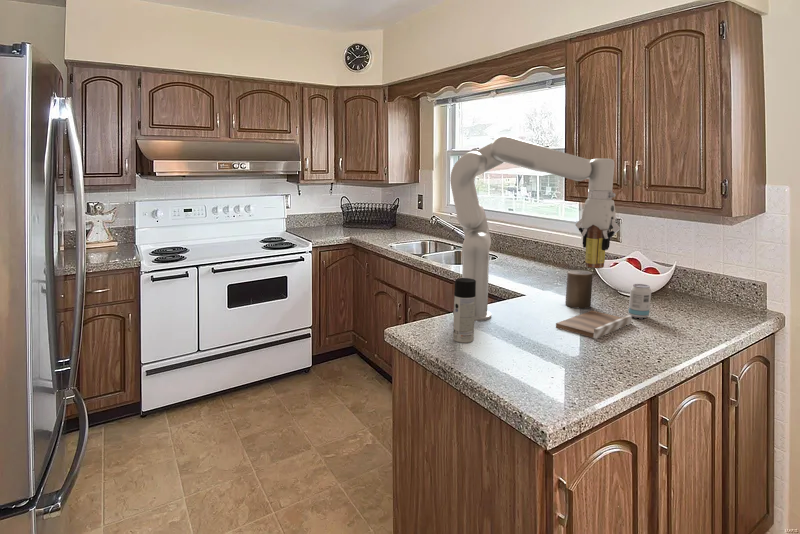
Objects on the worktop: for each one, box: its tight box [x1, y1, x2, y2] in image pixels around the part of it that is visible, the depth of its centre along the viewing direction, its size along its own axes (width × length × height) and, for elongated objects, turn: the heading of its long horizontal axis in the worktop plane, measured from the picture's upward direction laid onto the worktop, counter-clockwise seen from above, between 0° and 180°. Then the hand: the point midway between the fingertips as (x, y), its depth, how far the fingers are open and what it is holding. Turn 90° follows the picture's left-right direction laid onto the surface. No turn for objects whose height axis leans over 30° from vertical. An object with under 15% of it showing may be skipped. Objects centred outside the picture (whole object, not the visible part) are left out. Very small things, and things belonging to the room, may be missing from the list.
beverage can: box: [627, 283, 652, 320], centre depth 184 cm, size 7×7×12 cm
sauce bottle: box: [584, 225, 606, 269], centre depth 171 cm, size 6×6×20 cm
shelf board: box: [555, 310, 633, 339], centre depth 175 cm, size 24×15×3 cm, turn 130°
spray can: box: [452, 277, 476, 344], centre depth 159 cm, size 7×7×20 cm
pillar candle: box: [564, 269, 594, 310], centre depth 199 cm, size 10×10×15 cm
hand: (595, 248), depth 171 cm, fingers closed on sauce bottle, 6 cm apart
